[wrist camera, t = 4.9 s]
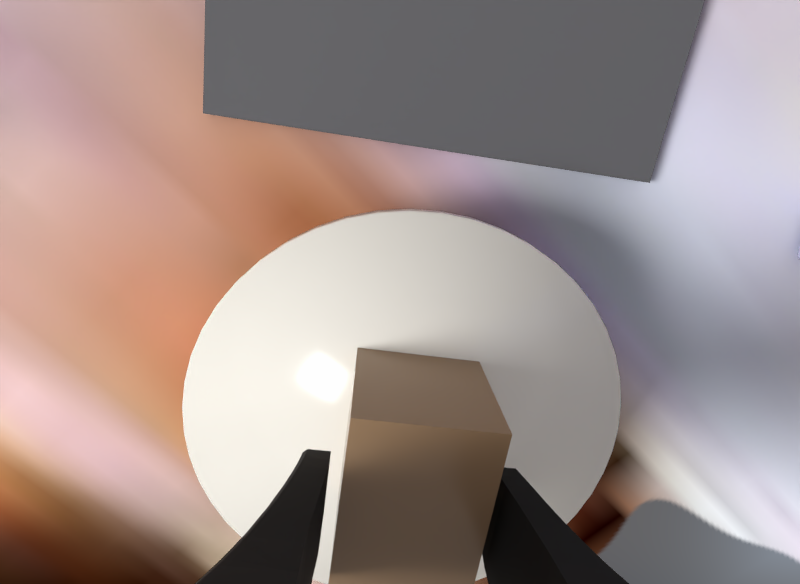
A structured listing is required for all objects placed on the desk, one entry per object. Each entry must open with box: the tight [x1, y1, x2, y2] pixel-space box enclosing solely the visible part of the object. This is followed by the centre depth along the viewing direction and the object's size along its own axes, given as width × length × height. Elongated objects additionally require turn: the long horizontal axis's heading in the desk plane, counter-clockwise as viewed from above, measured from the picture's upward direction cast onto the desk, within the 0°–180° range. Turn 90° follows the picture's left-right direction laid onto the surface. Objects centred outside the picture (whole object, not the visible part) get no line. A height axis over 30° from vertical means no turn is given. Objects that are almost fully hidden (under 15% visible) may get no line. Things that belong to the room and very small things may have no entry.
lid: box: [182, 209, 621, 584], centre depth 13 cm, size 13×13×4 cm
